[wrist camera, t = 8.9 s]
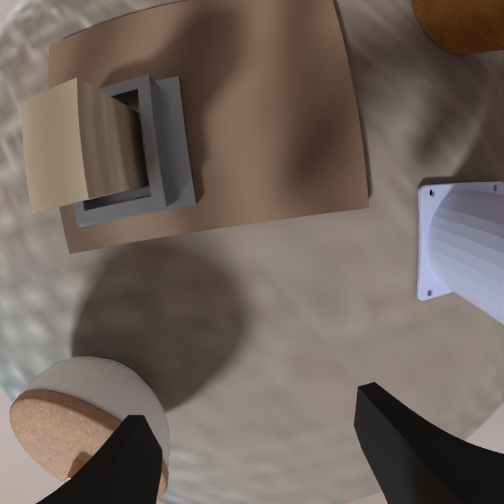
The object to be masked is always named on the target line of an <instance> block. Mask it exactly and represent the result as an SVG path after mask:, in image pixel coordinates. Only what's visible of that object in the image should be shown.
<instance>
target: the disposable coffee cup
mask: <svg viewBox="0 0 504 504" xmlns="http://www.w3.org/2000/svg"><path fill="white" fill-rule="evenodd" d="M412 8H413V11H414V14H415V16H416V18H417V20H418V22H419V24H420V25H421V27H422V28H423V30H424V31H425V32H426V33H427V35H428V36H429V37H430V38H431V39H432V40H433V41H434V42H435V43H436V44H437V45H439V46H440V47H441V48H442V49H444V50H445V51H447V52H449V53H451V54H453V55H457V56H465V55H470V54H475V53H482V52H489V51H499V50H504V0H412Z"/></svg>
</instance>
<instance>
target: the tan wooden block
mask: <svg viewBox="0 0 504 504" xmlns="http://www.w3.org/2000/svg"><path fill="white" fill-rule="evenodd" d="M22 133H23V148H24V160H25V169H26V177H27V185H28V192H29V198H30V204H31V210H32V215H33V214H36V213H40V212H43V211H47V210H50V209H54V208H58V207H61V206H65V205H69V204H73V203H77V202H81V201H85V200H89V199H93V198H97V197H102V196H106V195H110V194H115V193H119V192H123V191H128V190H132V189H137V188H142V187H146V186H149V185H148V179H147V172H146V165H145V158H144V151H143V144H142V136H141V127H140V118H139V113H138V112H137V111H135V110H133V109H131V108H130V107H128V106H126V105H125V104H123V103H121V102H120V101H118V100H116V99H114V98H113V97H111V96H109V95H107V94H106V93H104V92H102V91H100V90H99V89H97V88H95V87H93V86H91V85H90V84H88V83H86V82H84V81H82V80H80V79H79V78H74V79H72V80H69V81H67V82H65V83H62V84H60V85H58V86H55V87H53V88H51V89H49V90H47V91H44V92H42V93H40V94H38V95H36V96H34V97H32V98H30V99H28V100H26V101H24V102H22Z"/></svg>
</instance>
